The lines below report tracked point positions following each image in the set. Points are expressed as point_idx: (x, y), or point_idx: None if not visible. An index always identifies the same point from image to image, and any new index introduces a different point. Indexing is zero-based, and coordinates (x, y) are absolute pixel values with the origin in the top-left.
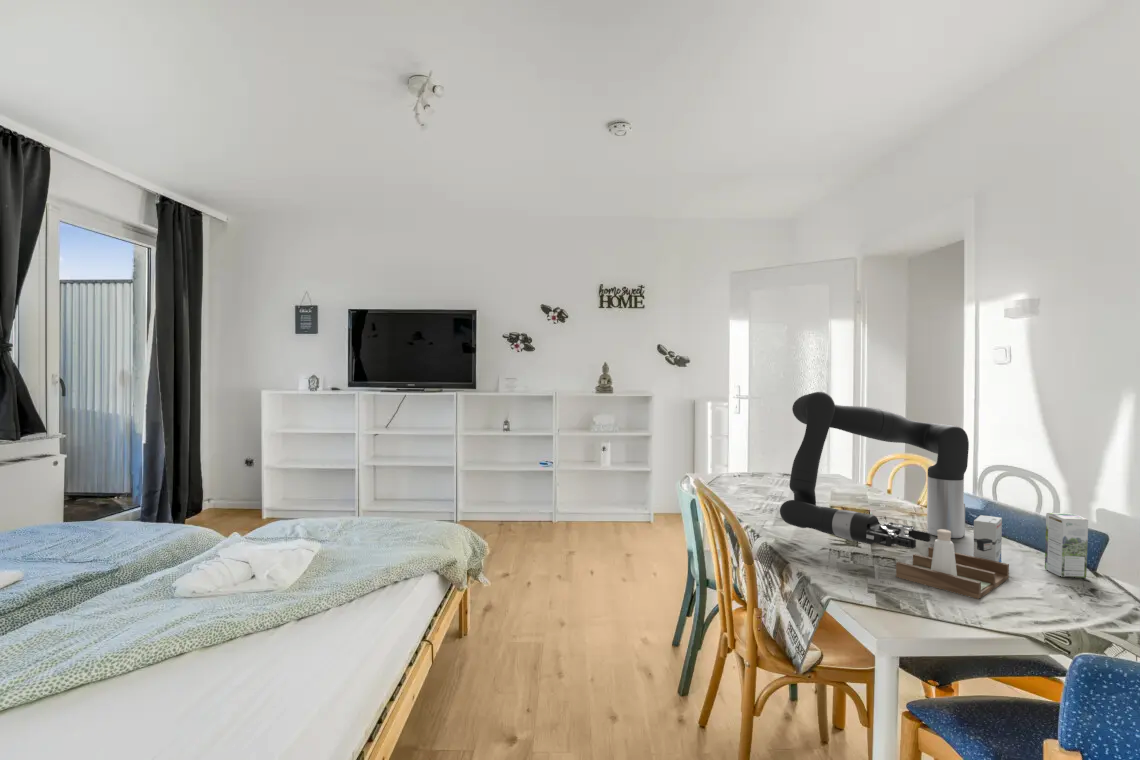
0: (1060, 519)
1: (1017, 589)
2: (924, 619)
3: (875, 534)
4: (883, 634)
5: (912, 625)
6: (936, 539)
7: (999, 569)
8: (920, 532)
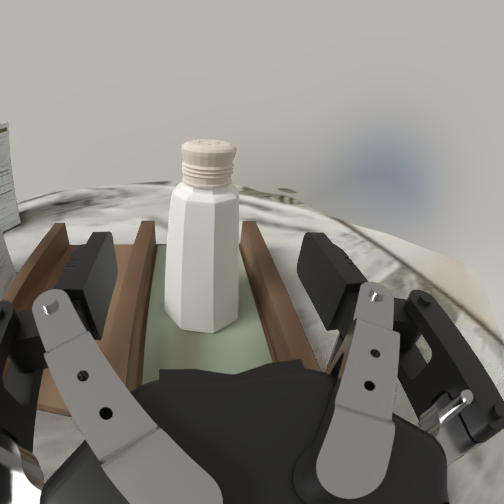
0: (3, 126)
1: (123, 236)
2: (413, 265)
3: (474, 363)
4: (471, 269)
5: (436, 265)
6: (211, 197)
7: (62, 243)
8: (97, 262)
